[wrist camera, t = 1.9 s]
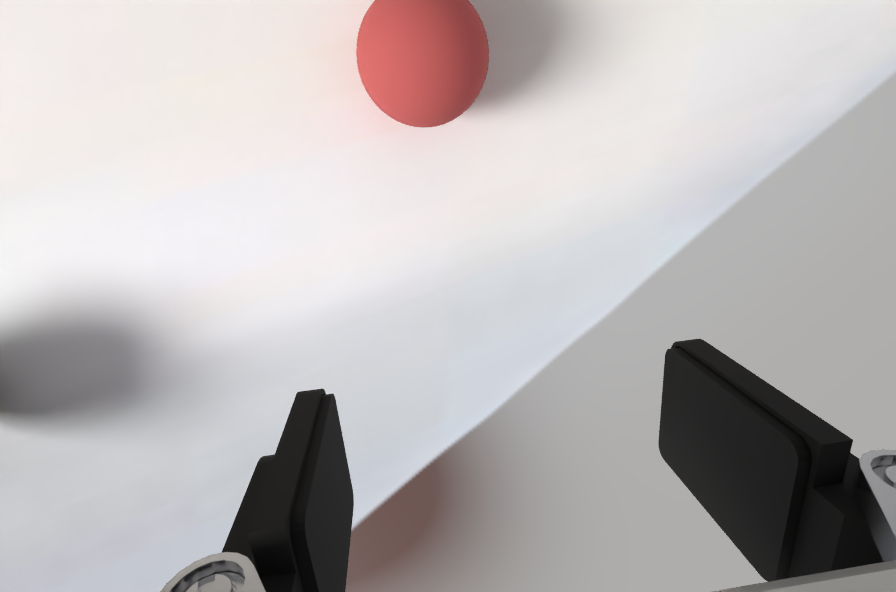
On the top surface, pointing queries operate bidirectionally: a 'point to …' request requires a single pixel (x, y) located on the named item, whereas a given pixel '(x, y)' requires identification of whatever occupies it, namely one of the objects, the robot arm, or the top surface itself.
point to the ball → (422, 58)
